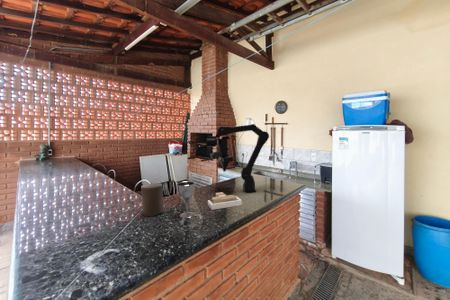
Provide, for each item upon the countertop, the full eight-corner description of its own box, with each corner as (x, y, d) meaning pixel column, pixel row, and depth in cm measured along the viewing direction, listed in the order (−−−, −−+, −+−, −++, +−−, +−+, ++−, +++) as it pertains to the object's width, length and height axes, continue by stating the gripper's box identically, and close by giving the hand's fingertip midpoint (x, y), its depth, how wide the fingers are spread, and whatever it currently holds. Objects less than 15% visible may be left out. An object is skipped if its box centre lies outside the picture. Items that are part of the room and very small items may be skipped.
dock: (236, 200, 114) (236, 196, 114) (241, 204, 107) (241, 200, 107) (208, 204, 109) (207, 200, 109) (211, 209, 102) (211, 204, 102)
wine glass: (175, 216, 95) (173, 184, 94) (186, 210, 102) (184, 180, 101) (189, 219, 91) (187, 186, 90) (199, 213, 98) (197, 182, 97)
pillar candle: (157, 217, 96) (155, 185, 95) (138, 216, 98) (136, 184, 97) (167, 209, 105) (165, 180, 104) (149, 208, 107) (148, 180, 106)
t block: (208, 201, 115) (208, 194, 115) (229, 198, 119) (229, 191, 118) (214, 207, 105) (213, 200, 104) (236, 204, 108) (236, 196, 108)
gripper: (207, 146, 136) (208, 170, 137) (215, 148, 118) (216, 175, 120) (223, 145, 139) (224, 168, 141) (233, 147, 122) (234, 173, 123)
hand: (224, 171), depth 131 cm, fingers closed
